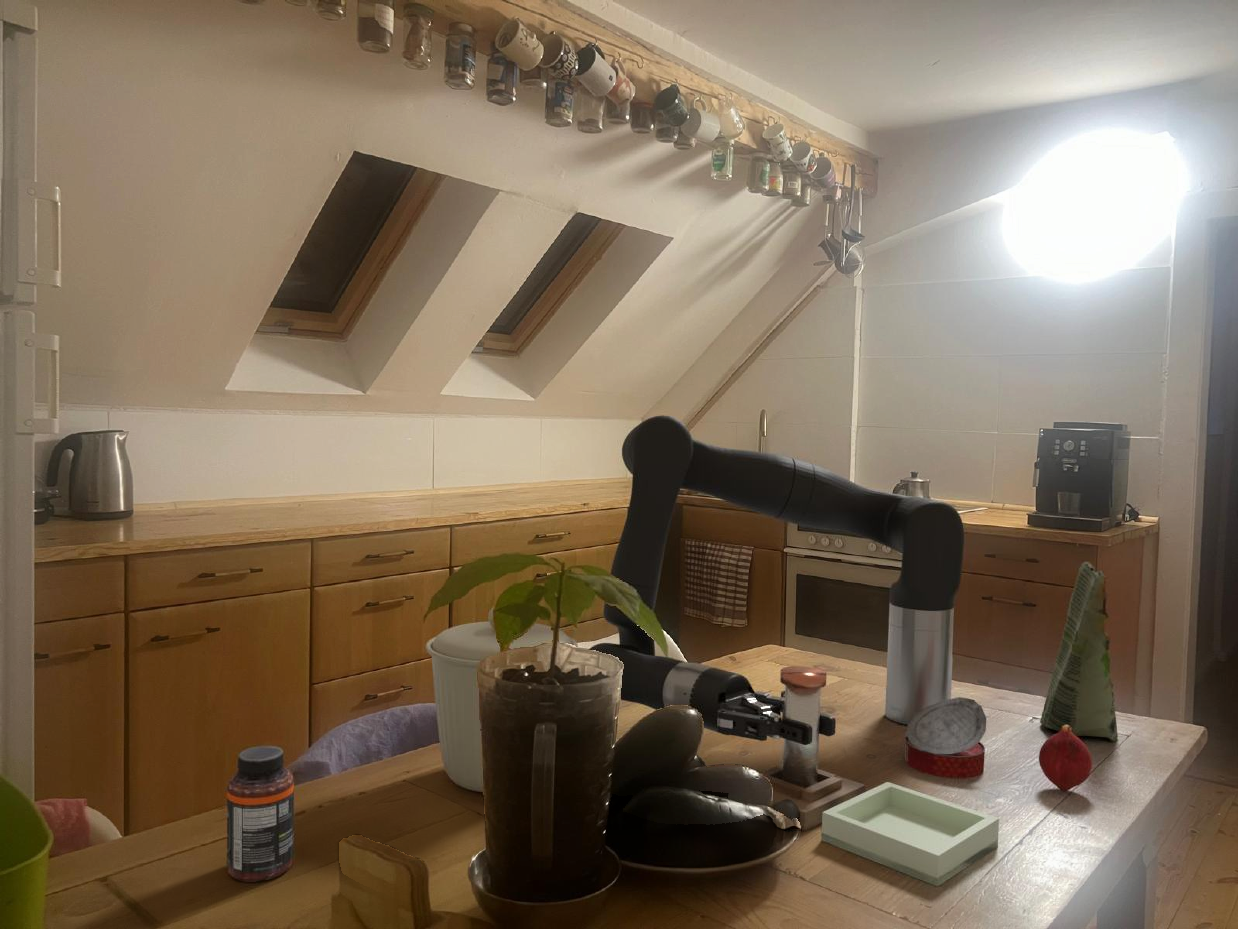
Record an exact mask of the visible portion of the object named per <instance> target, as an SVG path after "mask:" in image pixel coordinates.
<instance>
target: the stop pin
mask: <svg viewBox="0 0 1238 929" xmlns="http://www.w3.org/2000/svg"><path fill="white" fill-rule="evenodd" d="M779 672H780V676H779V681H780V683H781V684H782V685H785V686H784V691H785V707H784V718H785V717H786V718H789V719H792V720H796V721H799V722H803V723H806V724H809V725H811V726H812V743H811V744H808V745H803V744H800V743H797V742H794V741H790V740H787V739H784V738H782V740H783V741H782V743H783V744H782V764H783V765H782V780H783V781H786V782H789V783H791V784H794V785H797V786H800V787H802V788H807V787H810V786H812V785H814V784H817V774H818V769H819V745H820V744H819V743H820V741H819V740H820V734H819V719H820V713H821V712H820V711H821V690H822V689H821V688H824V687H826V686H827V672H826V671H824V670H822V669H820V668H816V667H811V666H805V665H803V666H801V665H795V666H794V665H791V666H785V667H782V668H781V669H780V671H779Z"/></svg>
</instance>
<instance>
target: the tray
mask: <svg viewBox="0 0 1238 929" xmlns="http://www.w3.org/2000/svg"><path fill="white" fill-rule="evenodd" d="M999 824H1000V818H999V817H996V816H992V815H990V814H987V813H984V812H981V811H977V810H974V809H973V808H972V809H971V808H968V807H966V806H963V805H960V804H957V803H953V802H951V801H947V800H944V799H941V798H938V797H935V796H932V795H929V794H925V793H923V792H919V791H917V790H913V789H911V788H907V787H904V786H901V785H898V784H895V783H892V782H890V781H889V782H888V781H886V782H884V783H882V784H880V785H878V786H876V787H874V788H871V789H869V790H867V791H865V793H862V794H860V795H858V796H856V797H854V798H852V799H850V800H847V801H845V802H843V803H841V804H839V805H837V806H835V807H833V808H830V809H828V810H826V811H824V812H822V823H821V841H822V842H825V843H827V844H830V845H833V846H835V847H837V848H840V849H843V850H844V851H847V852H851V853H853V854H854V855H857V856H860V857H862V858H865V859H866V860H867V859H868V860H870V861H872V862H874V863H877V864H880V865H881V866H885V867H888V868H890V869H892V870H895V871H897V872H900V873H902V874H905V875H907V876H909V877H912V878H915V879H917V880H919V881H922V882H924V883H927V884H930V885H932V886H935V887H939V886H940V885H942V884H944V883H946V882H947V881H948V880H949V879H951V878H952V877H954V876H956V875H957V874H959V873H960V872H962V871H963V870H965V869H967V868H968V867H969V866H971V865H972V864H974V863H975V862H977V861H978V860H980V859H981V858H983V857H984V856H986V855H987V854H989V853H991V852H992V851H994V850H995V849H996V848H998V847H999V830H1000V829H999V827H1000V825H999ZM988 852H989V853H988ZM985 854H986V855H985ZM983 855H984V856H983ZM973 862H974V863H973ZM967 866H968V867H967Z"/></svg>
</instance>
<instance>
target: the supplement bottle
mask: <svg viewBox="0 0 1238 929" xmlns="http://www.w3.org/2000/svg"><path fill="white" fill-rule="evenodd" d="M237 758H238V759H237V769H238V770H237V772H236V773H234V774H233V775H232V777H231V778H230V779H229V781H228V783H227V786H226V788H227V790H226V793H227V794H226V826H227V827H226V828H227V829H226V847H227V848H226V866H227V872H228V874H229V876H230V877H232V878H234V879H235V880H238V881H241V882H261V881H262V882H263V881H268V880H271V879H273V878H276V877H278V876H280V875H283V874H284V873H285V872H287V871H288V870H289V869H290V868H291V866H292V864H293V861H294V853H295V852H294V851H295V849H294V848H295V846H294V844H295V841H294V840H295V839H294V836H295V835H294V834H295V833H294V832H295V829H294V828H295V825H294V824H295V823H294V822H295V820H294V819H295V808H294V807H295V802H294V801H295V782H294V780H295V779H294V775H293V773H292V772H291V771H290V769H288V768H285V766H284V763H285V761H284V750H283V749H282V748H281V747H279V746H278V747H277V746H274V745H261V746H254V747H253V746H252V747H248V748H246V749H244V750H242V751H241V752H239V754H238V757H237Z"/></svg>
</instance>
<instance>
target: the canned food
mask: <svg viewBox="0 0 1238 929" xmlns="http://www.w3.org/2000/svg"><path fill="white" fill-rule="evenodd" d="M906 727H907V729H906V732H905V737H904V739H905V740H904V758H903V759H904V762H905V764H906V763H907V764H908V765H907V764H906V765H907V766H908V767H910V768H911V769H914V771H915V770H916V771H918V772H920V773H924V774H926V773H927V774H926V775H930V776H935V777H940V778H946V779H969V778H971V779H972V778H975V777H979V776H982V774H983V773H984V771H985V752H986V751H985V750H986V747H985V745H984V744H983V743H982V742H980V741H981V740H982V738H983V737H984V735H985V734H986V732H987V717H986V714H985V712H984V710H983V707H982V705H981V704H980V703H978V702H977V701H976V700H975V699H971V698H967V697H962V696H961V697H960V696H959V697H954V698H951V699H947V700H942V701H940V702H938V703H936V704H933V705H930V706H927V707H926V708H925V709H924V710H922V711H921V712H919V713H918V714H916V715H915V716H914V717H913V719H912V720H911V721H910V722H909V723H908V725H906Z"/></svg>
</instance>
